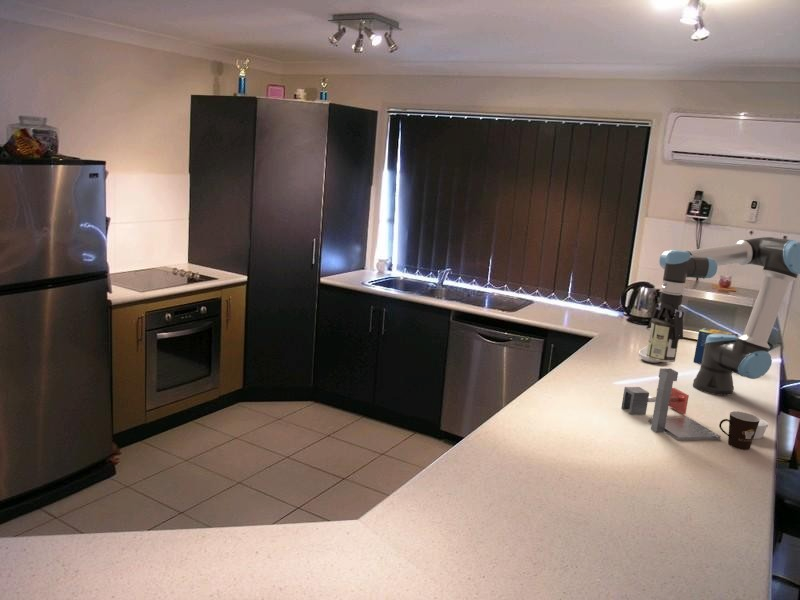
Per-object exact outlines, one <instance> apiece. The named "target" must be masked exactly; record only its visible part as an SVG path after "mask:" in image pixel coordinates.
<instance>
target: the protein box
mask: <svg viewBox="0 0 800 600" xmlns="http://www.w3.org/2000/svg"><path fill="white" fill-rule="evenodd" d="M710 334H725V335H733V336H737V337H739V334H738V333H735V332H728V331H725V330H724V331H723V330H719V329H714V328H709V327H702V328H700V329H699V330H698V335H697V341H696V345H695V350H694V351H695V352H694V356H693V361H692V363H695V364H699V363H700V364H699V365H701V364H702V358H703V351H704V345H705V342H706V338H707V336H708V335H710Z"/></svg>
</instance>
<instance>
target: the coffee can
mask: <svg viewBox="0 0 800 600" xmlns="http://www.w3.org/2000/svg"><path fill="white" fill-rule="evenodd" d="M672 327H675V324H669V322H668V321H667V318H666V319H665V320H659V319H657V318H653V319H652V324H651V328H650V331H649V337H648V343H647V346H648V348H647V354H646V357H648V358H650V359H652V360H656V361H661V362H660V363H674V362H676V358H677V352H678V347H679V346H678V345H679V340H678V343H677V348H676V351H675V356H674V357H667V351H668V345H669V339H670V338H671V328H672ZM674 336H675V335H674Z"/></svg>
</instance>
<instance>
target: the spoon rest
mask: <svg viewBox="0 0 800 600" xmlns="http://www.w3.org/2000/svg"><path fill="white" fill-rule="evenodd" d="M647 348H648V345H647V346H645V347H643V348H641V349H639V351H638V356H639V357H640V358H641V359H642V360H643V361H645V362H647V363H651V364H658V363H662V362H661V361H656V360H652V359H650V358H648V357H646V354H647Z"/></svg>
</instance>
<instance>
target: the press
mask: <svg viewBox="0 0 800 600" xmlns="http://www.w3.org/2000/svg"><path fill="white" fill-rule="evenodd" d="M678 376H679V372H678V371H676V370H674V369H672V368H668V367H667V368H666V367H665V368H662V367H660V368H659V371H658V385H657V390H656V396H655V397H656V401H655V402H654V408H653V413H652V417H649V418H648V421H647V422H648V423H650V425H651V426H650V430H651V431H652V432H654V433H656V434H659V433H665V434H667V435H668V436H670V437H672V438H673V439H675V440H676V441H679V442H680V441H684V442H685V441H714V440H716V441H717V440H718V441H719V440H721V435H720V434H718V433H716V432H714V431H713V430H711V429H709V428H707V427H706V426H704V425H702V424H700V423H699V422H697V421H695V420H694V419H692V418H690V417H668V411H669V407H670V406H669V401H670V396H671V391H672V388H673V385H674V382H677V380H678ZM622 396H623V397H622V401H621V402H622V403H621V407H620V409H621V410H622V411H626V410H627V411H628V415H631V416H643V415H644V416H645V415H646V414H647V409H648V404H649V402H648V398H649V397H650V392H649V391H647V390H646V389H643V388H642V387H640V386H625V387H624V389H623V394H622ZM646 416H647V415H646Z"/></svg>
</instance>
